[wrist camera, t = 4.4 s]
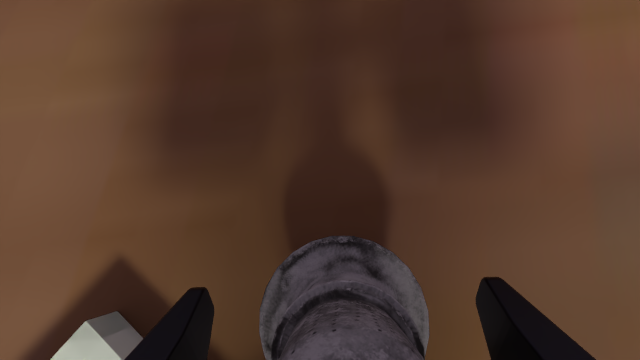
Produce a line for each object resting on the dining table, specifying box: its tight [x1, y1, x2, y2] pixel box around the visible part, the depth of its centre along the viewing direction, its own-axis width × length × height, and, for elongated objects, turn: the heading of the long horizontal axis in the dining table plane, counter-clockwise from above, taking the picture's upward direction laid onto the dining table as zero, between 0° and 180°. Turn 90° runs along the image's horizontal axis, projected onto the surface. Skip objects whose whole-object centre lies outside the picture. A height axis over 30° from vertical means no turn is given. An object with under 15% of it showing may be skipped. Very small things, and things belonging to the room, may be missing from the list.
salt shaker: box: [259, 236, 429, 360], centre depth 9 cm, size 6×6×12 cm
